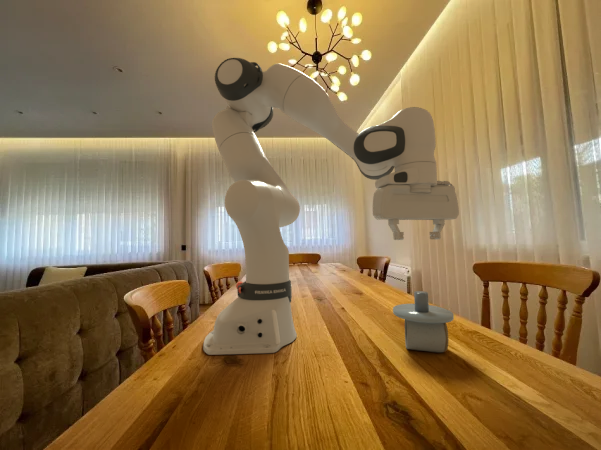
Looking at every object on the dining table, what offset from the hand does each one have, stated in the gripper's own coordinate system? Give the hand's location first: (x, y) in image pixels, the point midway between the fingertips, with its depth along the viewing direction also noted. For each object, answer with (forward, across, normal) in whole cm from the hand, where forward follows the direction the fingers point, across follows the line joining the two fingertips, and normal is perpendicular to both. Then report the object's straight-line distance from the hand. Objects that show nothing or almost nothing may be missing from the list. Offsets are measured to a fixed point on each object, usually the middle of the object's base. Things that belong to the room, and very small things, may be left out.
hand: (417, 239), depth 58 cm
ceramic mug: (+24, -1, 0) cm, 24 cm away
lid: (+16, 0, +1) cm, 16 cm away
